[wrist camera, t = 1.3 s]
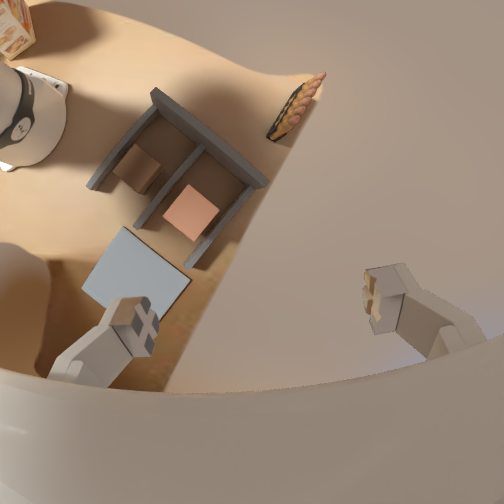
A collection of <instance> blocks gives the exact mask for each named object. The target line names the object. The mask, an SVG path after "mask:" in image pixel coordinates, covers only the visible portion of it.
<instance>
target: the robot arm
mask: <svg viewBox="0 0 504 504" xmlns="http://www.w3.org/2000/svg"><path fill="white" fill-rule="evenodd" d="M58 85H59V86H58ZM57 86H58V88H56V87H57ZM67 92H68V85H67V84H66V83H65V82H63V81H60V80H58V79H55V78H53V77H50V76H48V75H45V74H42V73H40V72H37V71H34V70H32V69H29V68H26V67H23V66H19V67H18V68H16V69H14V68H10V67H9V66H8V65H7V64H5V63H4V62H3V61H2V60H1V59H0V166H1V168H2V170H4V171H6V172H9V171H11V170H13V169H15V168H16V167H19V166H30V165H33V164H36V163H38V162H40V161H41V160H43V159H44V158H45V157H46V156H48V155H49V154H50V153H51V151H52V150H53V149H54V148H55V146H56V145H57V143H58V142H59V140H60V138H61V136H62V133H63V131H64V127H65V123H66V105H65V99H66V96H67ZM364 280H365V282H366V285H365V286H364V288H363V303H364V308H365V311H366V313H367V314H369V315H370V324H371V327H372V330H373V332H374V335H377V334H383V333H388V332H394V331H396V333H397V334H399V335H400V336H401V337H402V338H403V339H404V340H406V341H407V342H408V343H409V344H410V345H411V346H413V347H414V348H415V349H416V350H417V351H419V352H420V353H421V354H422V355H423V356H424V357H425V358H427V360H426V362H422V363H418V364H415V365H411V366H407V367H403V368H399V369H395V370H391V371H386V372H382V373H378V374H373V375H368V376H364V377H359V378H353V379H347V380H342V381H336V382H330V383H324V384H317V385H309V386H301V387H293V388H284V389H274V390H262V391H247V392H227V393H167V392H146V391H131V390H120V389H110V388H107V387H108V386H109V385H110V384H111V383H112V382H113V380H114V379H115V378H116V377H117V376H118V375H119V374H120V372H121V371H122V370H123V369H124V368H125V367H126V365H127V364H128V363H129V362H130V361H131V360H132V359H133V357H151V355H152V352H153V348H154V345H155V343H154V341H153V339H154V338H155V337H156V336H157V335H158V332H159V319H158V316H157V314H156V312H155V311H153V310H152V309H150V306H151V302H150V300H149V299H148V297H145V296H141V297H124V298H114V299H112V300H111V302H110V304H109V306H108V307H107V309H106V311H105V313H104V315H103V317H102V319H101V321H100V323H99V325H98V326H95V327H94V328H92V329H91V330H90V331H89V332H87V333H86V334H85V335H84V336H83V337H81V338H80V339H79V340H78V341H76V342H75V343H74V344H73V345H72V346H70V347H69V348H68V349H67V350H65V351H64V352H63V353H62V354H61V355H59V356H58V357H57V359H56V361H55V363H54V365H53V367H52V369H51V371H50V373H49V375H48V377H47V379H45V378H40V377H35V376H31V375H26V374H22V373H18V372H14V371H10V370H6V369H3V368H0V504H504V334H502V335H500V336H497V337H495V338H492V339H490V340H487V339H486V337H485V335H484V333H483V332H482V330H481V328H480V327H479V325H478V323H477V322H476V320H475V318H474V317H473V316H471V315H469V314H468V313H466V312H464V311H462V310H461V309H459V308H457V307H455V306H454V305H452V304H450V303H448V302H446V301H445V300H443V299H441V298H439V297H437V296H436V295H434V294H432V293H430V292H428V291H426V290H421V288H420V287H419V285H418V284H417V282H416V280H415V279H414V277H413V276H412V274H411V273H410V271H409V269H408V268H407V266H406V265H405V264H404V263H399V264H394V265H391V266H385V267H378V268H372V269H366V270H365V273H364Z"/></svg>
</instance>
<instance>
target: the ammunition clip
mask: <svg viewBox="0 0 504 504" xmlns="http://www.w3.org/2000/svg"><path fill="white" fill-rule="evenodd" d="M325 76H326V72H323V73H320V74H318V75H317V76H315V77H314V78H312V79H310V80H308V81H307V82H306V83H303V84H302V85H301V86H300V87H298V88H297V89H296V90H295V91H294V92H293V93H292V95H291V97H290V98H289V100H288V101H287V103H286V105H285V106H284V108H283V109H282V111H281V113H280V114H279V116H278V117H277V119H276V121H275V122H274V124H273V126H272V127H271V129H270V131H269V132H268V134H267V136H266V137H267V138H268V139H270V140H271V141H273V142H276V141H278V140H279V139H281V138H282V137H284V136H285V135H286V134H287V132H288V131H289V130H291V129H292V128H293V126H294V125H296V124H297V123H298V122H299V120H300V118H301V115H302V114H303V113H304V112H305V110H306V106H307V105H308V104H309V103H310V102H311V98H312V97H313V96H314V95H315V93H316V91H317V89H318V88H319V86H320V85H321V82H322V80H323V79H324V78H325Z"/></svg>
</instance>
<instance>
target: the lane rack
mask: <svg viewBox="0 0 504 504" xmlns="http://www.w3.org/2000/svg"><path fill="white" fill-rule="evenodd" d="M150 95H151V99H152V103H153V105H152V106H151V107H150V108H149V109H148V110H147V111H146V112H145V114H144V115H143V116H142V117H141V118H140V119H139V120H138V121H137V122H136V123H135V124H134V126H133V127H132V128H131V129H130V130H129V131H128V132H127V134H126V135H125V136H124V137H123V138H122V139H121V141H120V142H119V143H118V144H117V145H116V147H115V148H114V149H113V150H112V152H111V153H110V154H109V155H108V157H107V158H106V159H105V160H104V162H103V163H102V164H101V166H100V167H99V168H98V169H97V171H96V172H95V173H94V175H93V176H92V178H91V179H90V180H89V182H88V183H87V184H86V187H87V188H88V189H90V190H96V189H97V188H98V186H99V185H100V184H101V182H102V181H103V180H104V178H105V177H106V176H107V174H108V173H109V172H110V170H111V169H112V168H113V167H114V165H115V164H116V163H117V162H118V160H119V159H120V158H121V157H122V155H123V154H124V153H125V152H126V150H127V149H128V148H129V147H130V146H131V145H132V143H133V142H134V141H135V140H136V139H137V138H138V136H139V135H140V134H141V133H142V132H143V131H144V130H145V128H146V127H147V126H148V125H149V124H150V123H151V122H152V121H153V120H154V119H155V118H156V117H157V115H158V114H160V115H161V116H162V117H164V118H165V119H166V120H167V121H169V122H170V123H171V124H172V125H174V126H175V127H176V128H177V129H179V130H180V131H181V132H182V133H184V134H185V135H186V136H187V137H189V138H190V139H191V140H192V141H194V142H195V143H196V144H197V145H198V147H197V148H196V149H195V150H194V151H193V152H192V153H191V155H190V156H189V157H188V158H187V159H186V160H185V161H184V163H183V164H182V165H181V166H180V167H179V168H178V169H177V171H176V172H175V173H174V174H173V175H172V177H171V178H170V179H169V180H168V181H167V183H166V184H165V185H164V186H163V187H162V189H161V190H160V191H159V192H158V194H157V195H156V196H155V197H154V199H153V200H152V201H151V202H150V204H149V205H148V206H147V208H146V209H145V210H144V211H143V213H142V214H141V215H140V217H139V218H138V219H137V221H136V222H135V223H134V225H133V227H134V228H136V229H137V230H139V229H141V227H142V226H143V225H144V223H145V222H146V221H147V219H148V218H149V217H150V215H151V214H152V213H153V212H154V210H155V209H156V208H157V206H158V205H159V204H160V203H161V201H162V200H163V199H164V198H165V196H166V195H167V194H168V193H169V192H170V190H171V189H172V188H173V187H174V185H175V184H176V183H177V182H178V181H179V179H180V178H181V177H182V176H183V175H184V174H185V172H186V171H187V170H188V169H189V168H190V167H191V165H192V164H193V163H194V162H195V161H196V160H197V159H198V157H199V156H200V155H201V154H202V153H203V152H204V151H206V152H207V153H208V154H209V155H210V156H212V157H213V158H214V159H215V160H216V161H218V162H219V163H220V164H221V165H222V166H224V167H225V168H226V169H227V170H228V171H229V172H231V173H232V174H233V175H234V176H235V177H237V178H238V179H239V180H240V181H241V182H242V183H244V184H245V185H246V188H245V189H244V190H243V191H242V192H241V194H240V195H239V196H238V197H237V198H236V199H235V201H234V202H233V203H232V204H231V205H230V207H229V208H228V209H227V210H226V212H225V213H224V214H223V215H222V216H221V218H220V219H219V220H218V221H217V222H216V224H215V225H214V226H213V227H212V229H211V230H210V231H209V232H208V234H207V235H206V236H205V237H204V239H203V240H202V241H201V242H200V244H199V245H198V246H197V247H196V249H195V250H194V251H193V252H192V254H191V255H190V256H189V257H188V259H187V260H186V261H185V262H184V267H185V268H186V269H187V270H189V271H190V269H191V268H192V267H193V265H194V264H195V263H196V262H197V260H198V259H199V258H200V257H201V255H202V254H203V253H204V252H205V250H206V249H207V248H208V247H209V245H210V244H211V243H212V242H213V240H214V239H215V238H216V237H217V235H218V234H219V233H220V232H221V231H222V229H223V228H224V227H225V226H226V224H227V223H228V222H229V221H230V220H231V218H232V217H233V216H234V215H235V213H236V212H237V211H238V210H239V209H240V207H241V206H242V205H243V204H244V203H245V201H246V200H247V199H248V198H249V197H250V195H251V194H252V193H253V192H254V191H255V190H256V189H259V188H264V187H265V186H266V185H267V184H268V183H269V182H270V180H268V179H267V178H266V177H265V176H264V175H263V174H262V173H261V172H259V171H258V170H257V169H256V168H255V167H254V166H253V165H252V164H250V163H249V162H248V161H247V160H246V159H245V158H243V157H242V156H241V155H240V154H239V153H238V152H236V151H235V150H234V149H233V148H232V147H231V146H229V145H228V144H227V143H226V142H225V141H223V140H222V139H221V138H220V137H219V136H217V135H216V134H215V133H214V132H213V131H211V130H210V129H209V128H208V127H207V126H205V125H204V124H203V123H202V122H200V121H199V120H198V119H197V118H195V117H194V116H193V115H192V114H190V113H189V112H188V111H187V110H185V109H184V108H183V107H181V106H180V105H179V104H178V103H176V102H175V101H174V100H172V99H171V98H170V97H169V96H167V95H166V94H165V93H163V92H162V91H161V90H159V89H158V88H157V87H155V88H154V89H153V90H152V91H151V92H150Z"/></svg>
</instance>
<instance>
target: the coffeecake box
mask: <svg viewBox="0 0 504 504" xmlns="http://www.w3.org/2000/svg"><path fill="white" fill-rule="evenodd" d="M35 42H36V38H35V34H34V29H33V25H32V20H31V16H30V11H29V6H28V5H27V4H26V2H25V1H24V0H0V52H1V53H2V54H3V55H4V56H6V57H7V58H8V59H9V60H10V61H11V60H12V59H13V58H15V57H16V56H17V55H18V54H20V53H21V52H22V51H24V50H25V49H27V48H28V47H30V46H31V45H32V44H34V43H35Z"/></svg>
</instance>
